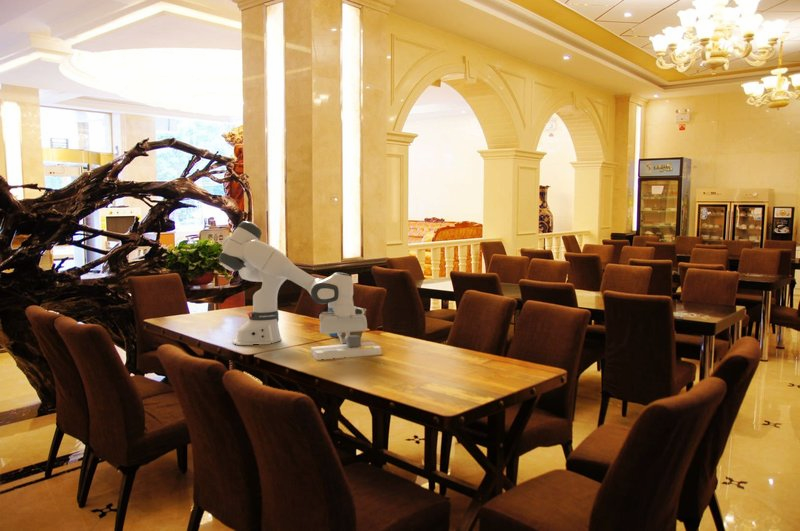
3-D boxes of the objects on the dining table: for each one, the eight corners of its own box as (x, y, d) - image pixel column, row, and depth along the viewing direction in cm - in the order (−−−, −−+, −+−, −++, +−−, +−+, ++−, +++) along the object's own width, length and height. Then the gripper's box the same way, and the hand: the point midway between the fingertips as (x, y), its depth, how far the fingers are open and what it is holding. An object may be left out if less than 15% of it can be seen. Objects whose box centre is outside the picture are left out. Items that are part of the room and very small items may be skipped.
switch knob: (349, 351, 264) (349, 337, 263) (346, 348, 268) (346, 335, 268) (360, 350, 265) (360, 336, 265) (357, 347, 270) (357, 334, 269)
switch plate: (316, 360, 255) (316, 352, 255) (310, 353, 267) (310, 346, 266) (381, 354, 265) (381, 346, 265) (372, 348, 276) (372, 341, 276)
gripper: (320, 313, 257) (321, 346, 258) (368, 310, 264) (368, 342, 265) (317, 310, 263) (318, 342, 264) (363, 307, 270) (364, 339, 271)
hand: (343, 342), depth 265 cm, fingers closed
